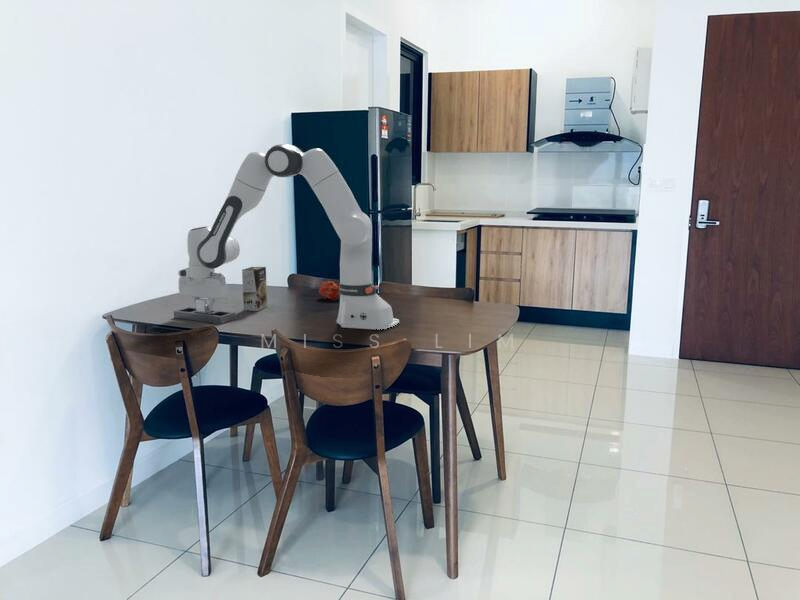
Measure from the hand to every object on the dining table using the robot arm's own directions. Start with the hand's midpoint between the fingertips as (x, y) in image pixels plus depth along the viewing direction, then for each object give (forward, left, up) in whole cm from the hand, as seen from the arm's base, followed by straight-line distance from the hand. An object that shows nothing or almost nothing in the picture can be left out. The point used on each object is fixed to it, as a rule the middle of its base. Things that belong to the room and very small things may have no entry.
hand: (204, 309), depth 233 cm
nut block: (0, 0, -2) cm, 2 cm away
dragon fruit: (-23, -51, -4) cm, 56 cm away
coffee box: (-6, -22, -4) cm, 23 cm away
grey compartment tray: (0, 0, -4) cm, 4 cm away
